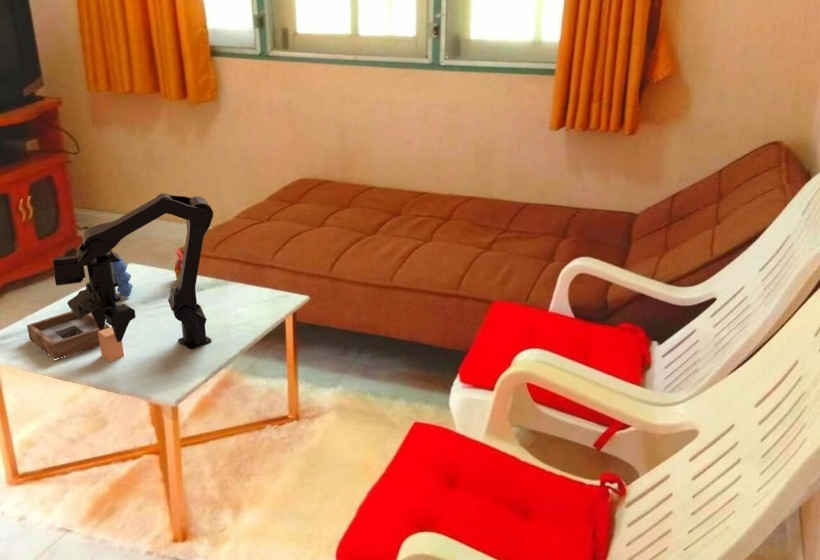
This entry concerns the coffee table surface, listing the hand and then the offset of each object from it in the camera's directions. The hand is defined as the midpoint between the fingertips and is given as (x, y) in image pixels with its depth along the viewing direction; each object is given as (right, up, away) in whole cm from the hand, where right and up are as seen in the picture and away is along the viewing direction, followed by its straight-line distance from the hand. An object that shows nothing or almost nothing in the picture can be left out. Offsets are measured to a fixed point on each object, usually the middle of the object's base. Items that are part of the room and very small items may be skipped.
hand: (110, 335), depth 195 cm
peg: (0, -5, +2) cm, 6 cm away
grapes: (-11, +9, +35) cm, 38 cm away
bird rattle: (+5, +13, +44) cm, 46 cm away
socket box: (-14, -2, +9) cm, 17 cm away
